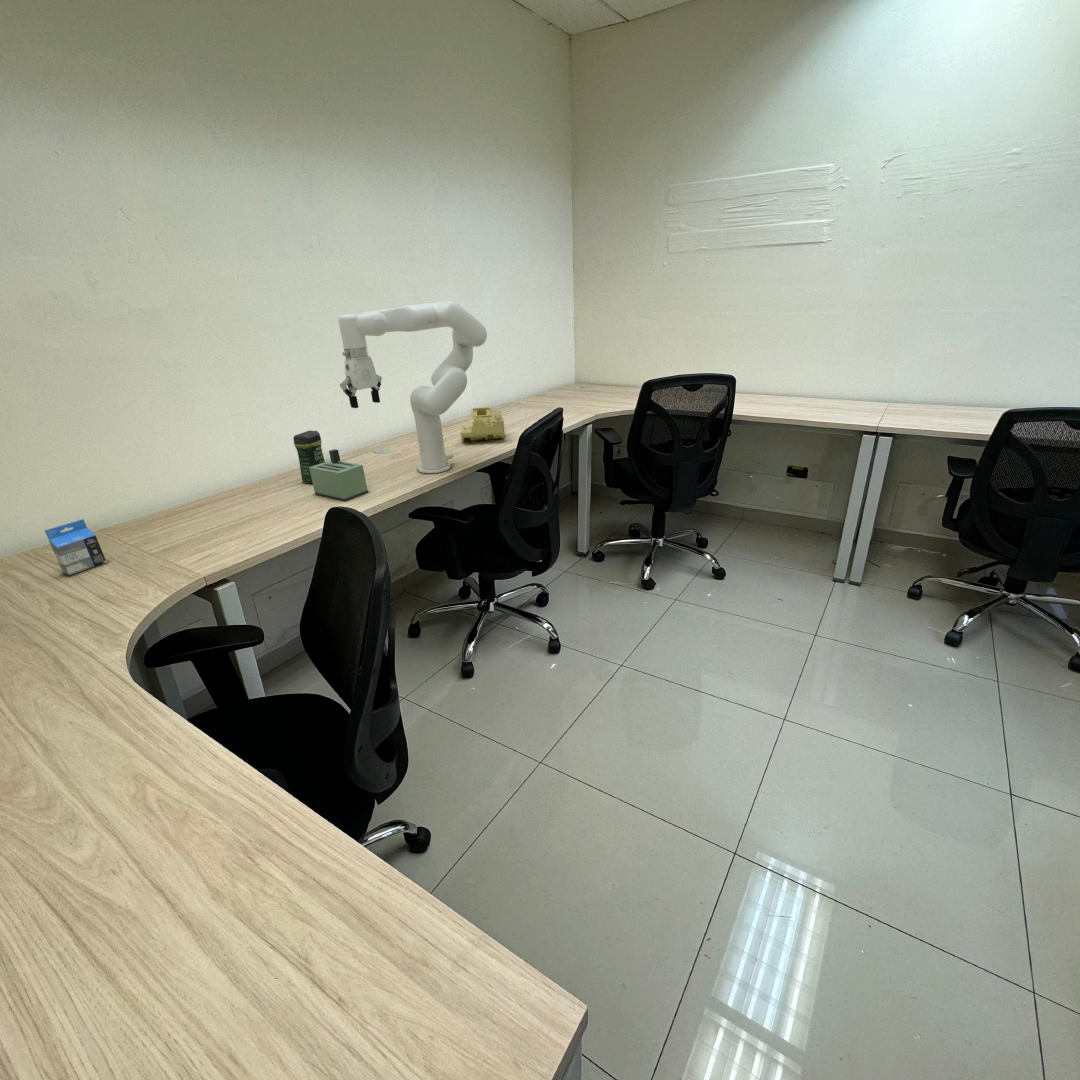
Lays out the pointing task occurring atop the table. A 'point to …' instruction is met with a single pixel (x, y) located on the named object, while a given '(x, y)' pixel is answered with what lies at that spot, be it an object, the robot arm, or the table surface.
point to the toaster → (338, 480)
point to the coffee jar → (308, 452)
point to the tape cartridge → (75, 547)
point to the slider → (334, 455)
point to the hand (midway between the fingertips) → (365, 405)
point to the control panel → (484, 425)
